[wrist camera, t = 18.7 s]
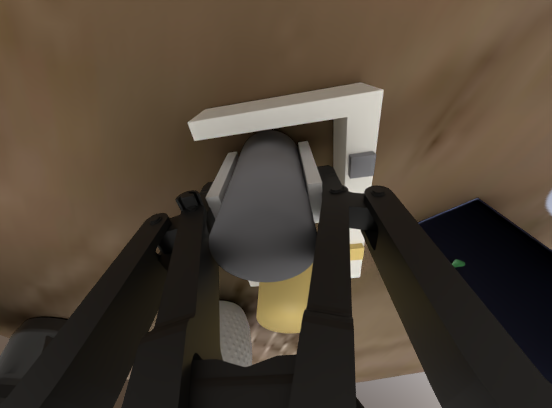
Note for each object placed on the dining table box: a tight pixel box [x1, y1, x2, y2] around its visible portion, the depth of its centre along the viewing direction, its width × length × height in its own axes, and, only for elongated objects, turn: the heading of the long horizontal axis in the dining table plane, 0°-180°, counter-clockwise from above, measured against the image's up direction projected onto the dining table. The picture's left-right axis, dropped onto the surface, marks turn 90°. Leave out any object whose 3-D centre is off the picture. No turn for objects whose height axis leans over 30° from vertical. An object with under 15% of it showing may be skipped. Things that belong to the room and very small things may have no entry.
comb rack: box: [187, 82, 384, 287], centre depth 19 cm, size 12×18×5 cm, turn 9°
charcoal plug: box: [209, 130, 317, 282], centre depth 14 cm, size 5×5×10 cm
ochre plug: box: [257, 263, 313, 333], centre depth 20 cm, size 5×5×10 cm
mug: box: [219, 301, 252, 367], centre depth 28 cm, size 15×11×13 cm
